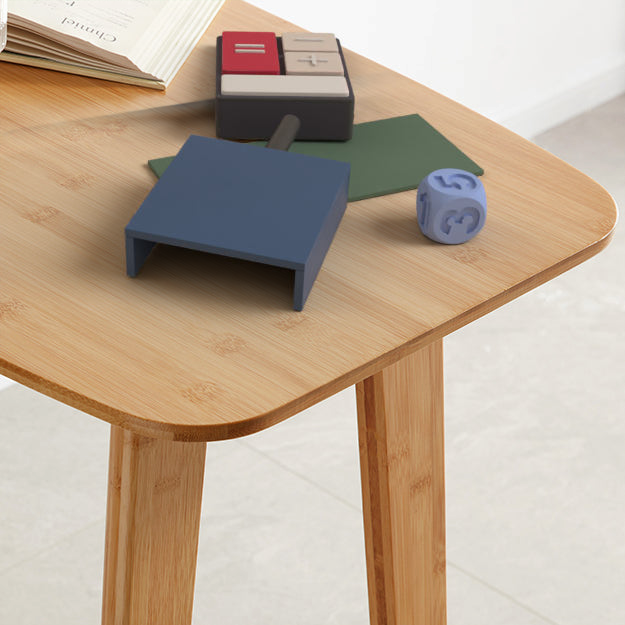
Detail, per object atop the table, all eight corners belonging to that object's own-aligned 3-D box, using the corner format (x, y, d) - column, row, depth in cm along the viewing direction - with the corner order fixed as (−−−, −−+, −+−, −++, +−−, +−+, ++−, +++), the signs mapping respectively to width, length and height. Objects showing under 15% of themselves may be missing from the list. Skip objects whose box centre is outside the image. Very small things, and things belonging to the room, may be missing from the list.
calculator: (339, 28, 101) (356, 90, 89) (337, 75, 104) (353, 141, 91) (216, 26, 100) (215, 87, 88) (216, 73, 103) (215, 139, 90)
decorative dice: (413, 217, 83) (419, 169, 81) (465, 213, 84) (472, 166, 82) (428, 246, 80) (435, 197, 78) (482, 243, 81) (490, 194, 78)
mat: (197, 233, 80) (197, 228, 80) (147, 164, 87) (147, 160, 87) (483, 174, 89) (484, 170, 89) (416, 117, 96) (417, 113, 96)
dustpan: (305, 264, 71) (368, 124, 85) (123, 228, 73) (216, 97, 87) (301, 311, 73) (364, 167, 88) (126, 276, 75) (216, 140, 90)
